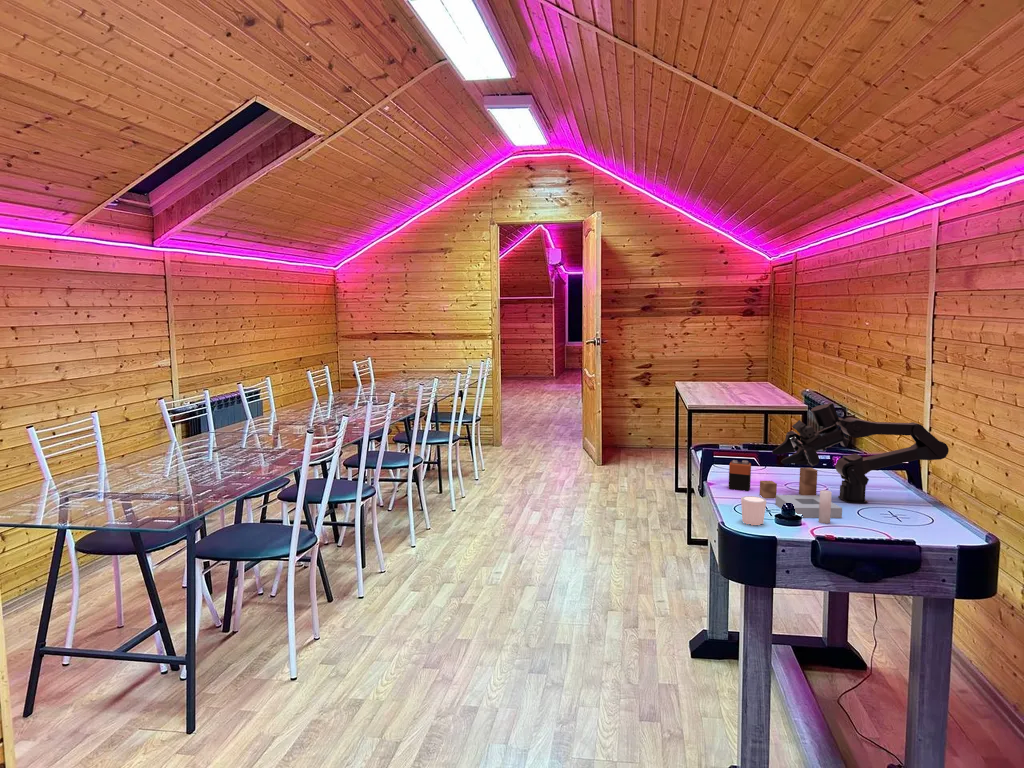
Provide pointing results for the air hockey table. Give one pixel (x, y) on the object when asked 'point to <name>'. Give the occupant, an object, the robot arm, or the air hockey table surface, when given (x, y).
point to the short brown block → (768, 489)
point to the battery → (739, 475)
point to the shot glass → (753, 510)
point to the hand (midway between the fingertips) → (777, 457)
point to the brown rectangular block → (808, 481)
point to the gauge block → (812, 505)
